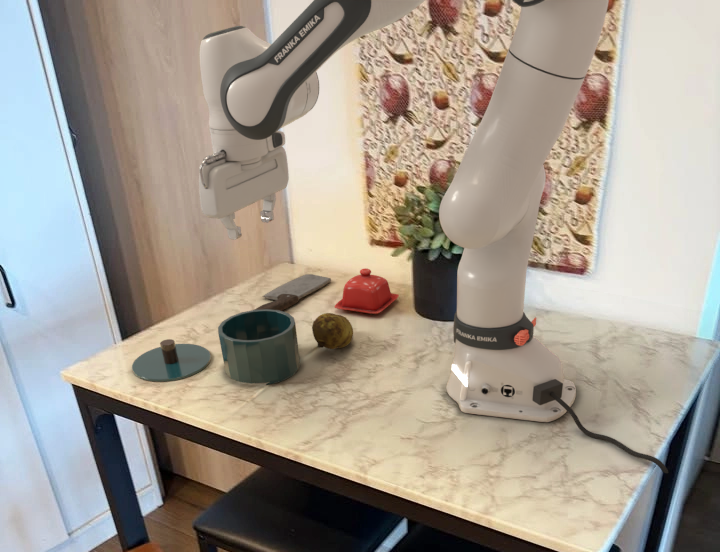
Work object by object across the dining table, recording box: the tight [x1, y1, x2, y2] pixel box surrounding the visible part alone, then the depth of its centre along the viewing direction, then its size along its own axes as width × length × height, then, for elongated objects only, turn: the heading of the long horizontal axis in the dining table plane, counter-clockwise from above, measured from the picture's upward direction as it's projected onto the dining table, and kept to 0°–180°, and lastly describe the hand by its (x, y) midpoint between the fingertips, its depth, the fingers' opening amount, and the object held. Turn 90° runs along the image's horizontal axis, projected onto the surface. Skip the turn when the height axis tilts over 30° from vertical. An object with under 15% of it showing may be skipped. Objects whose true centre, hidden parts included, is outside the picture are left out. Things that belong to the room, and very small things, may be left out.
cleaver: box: [253, 273, 332, 311], centre depth 173 cm, size 29×10×2 cm, turn 147°
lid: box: [131, 338, 212, 383], centre depth 148 cm, size 15×15×5 cm
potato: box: [311, 312, 354, 350], centre depth 150 cm, size 8×13×8 cm, turn 149°
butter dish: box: [334, 268, 399, 315], centre depth 165 cm, size 12×12×8 cm
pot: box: [217, 309, 301, 386], centre depth 144 cm, size 14×15×9 cm
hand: (251, 229), depth 130 cm, fingers open, 8 cm apart
